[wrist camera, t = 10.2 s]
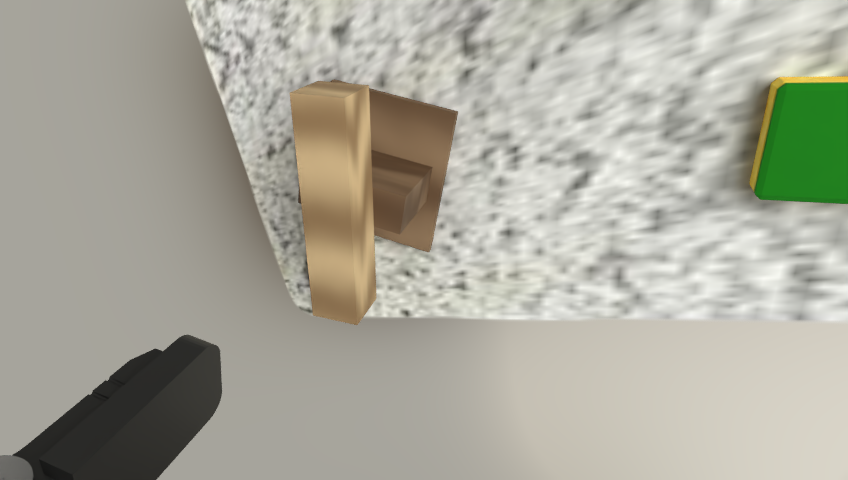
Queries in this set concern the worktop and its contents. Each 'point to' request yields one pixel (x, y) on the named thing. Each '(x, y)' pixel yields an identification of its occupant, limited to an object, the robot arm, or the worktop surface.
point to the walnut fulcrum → (407, 166)
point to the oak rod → (336, 196)
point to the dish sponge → (804, 141)
